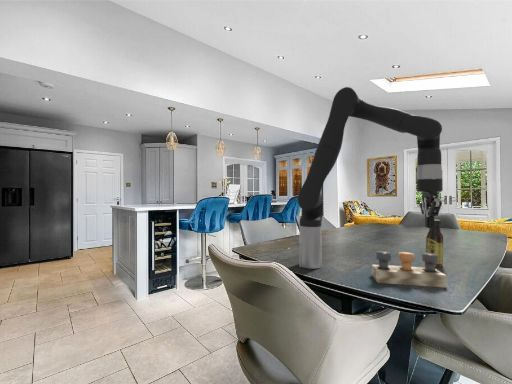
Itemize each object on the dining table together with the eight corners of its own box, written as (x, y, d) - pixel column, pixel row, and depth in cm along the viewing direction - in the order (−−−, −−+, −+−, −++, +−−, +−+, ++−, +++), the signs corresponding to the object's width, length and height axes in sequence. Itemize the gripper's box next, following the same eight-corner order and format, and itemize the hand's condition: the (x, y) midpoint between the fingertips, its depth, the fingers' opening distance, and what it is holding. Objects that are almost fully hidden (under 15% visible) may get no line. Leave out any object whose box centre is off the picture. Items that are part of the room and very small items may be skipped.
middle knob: (401, 273, 90) (401, 254, 90) (396, 269, 94) (396, 251, 94) (416, 273, 89) (416, 255, 89) (411, 270, 93) (411, 252, 93)
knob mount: (377, 282, 89) (377, 271, 89) (371, 274, 98) (371, 264, 98) (446, 287, 85) (446, 275, 85) (434, 278, 93) (433, 267, 94)
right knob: (425, 274, 88) (425, 255, 88) (419, 270, 93) (419, 252, 93) (441, 275, 87) (441, 256, 87) (434, 271, 92) (434, 253, 92)
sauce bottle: (422, 263, 114) (422, 218, 114) (436, 263, 114) (436, 218, 114) (432, 267, 108) (431, 220, 108) (447, 268, 107) (446, 220, 108)
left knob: (377, 271, 91) (377, 253, 91) (374, 267, 96) (374, 250, 96) (392, 272, 90) (392, 254, 90) (388, 268, 95) (388, 251, 95)
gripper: (410, 179, 98) (410, 225, 97) (425, 177, 85) (425, 230, 84) (432, 179, 96) (433, 225, 96) (451, 176, 83) (451, 230, 83)
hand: (429, 227), depth 90 cm, fingers closed
